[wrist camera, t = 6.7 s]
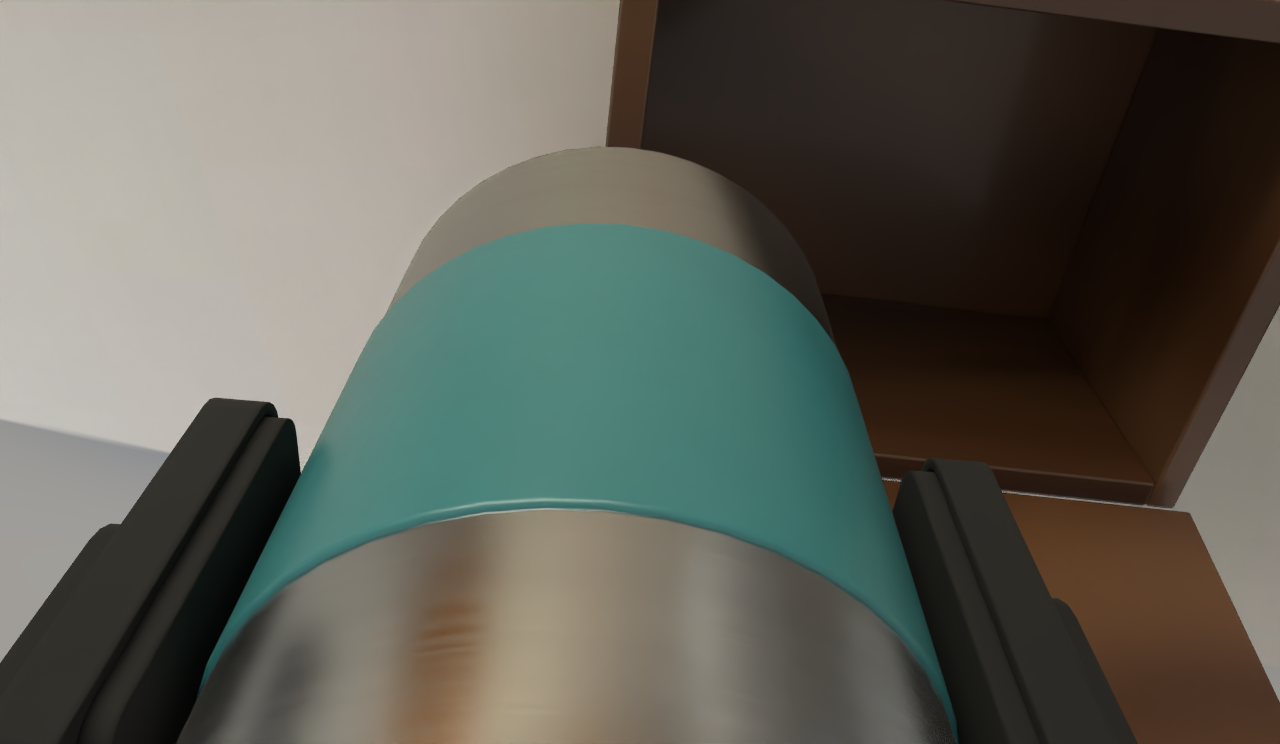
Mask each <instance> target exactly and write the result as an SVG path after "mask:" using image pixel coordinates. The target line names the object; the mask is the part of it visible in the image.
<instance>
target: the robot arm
mask: <svg viewBox="0 0 1280 744" xmlns="http://www.w3.org/2000/svg"><path fill="white" fill-rule="evenodd" d="M300 475H301V472H300V463H299V454H298V445H297V436H296V429H295V425H294V423H293V420H291V419H288V418H278V414H277V411H276V409H275V406H274V405H273V404H271V403H270V402H259V401H247V400H235V399H223V398H213V399H210V400H209V401H208V402H207V403H206V404H205V405H204V406H203V407H202V409H201V410H200V412H199V413H198V415H197V416H196V417H195V419H194V420H193V422H192V423H191V425H190V426H189V427H188V429H187V430H186V432H185V433H184V435H183V436H182V437H181V439H180V440H179V442H178V443H177V445H176V446H175V448H174V449H173V450H172V452H171V453H170V455H169V456H168V458H167V459H166V460H165V462H164V463H163V465H162V466H161V468H160V469H159V470H158V472H157V473H156V475H155V476H154V478H153V479H152V480H151V482H150V483H149V485H148V486H147V488H146V489H145V491H144V492H143V493H142V495H141V496H140V498H139V499H138V500H137V502H136V503H135V505H134V506H133V508H132V509H131V511H130V512H129V514H128V515H127V516H126V518H125V519H124V521H123V522H122V524H109V525H107V526H105V527H103V528H101V529H99V531H98V532H97V533H96V534H95V535H94V536H93V537H92V538H91V539H90V540H89V541H88V543H87V544H86V546H85V547H84V548H83V550H82V551H81V553H80V554H79V555H78V557H77V558H76V559H75V561H74V562H73V563H72V565H71V566H70V568H69V569H68V570H67V572H66V573H65V574H64V576H63V577H62V579H61V580H60V581H59V583H58V584H57V586H56V587H55V588H54V590H53V591H52V592H51V594H50V595H49V596H48V598H47V599H46V601H45V602H44V603H43V605H42V606H41V608H40V609H39V610H38V612H37V613H36V615H35V616H34V617H33V619H32V620H31V621H30V623H29V624H28V626H27V627H26V628H25V630H24V631H23V632H22V634H21V635H20V637H19V638H18V639H17V641H16V642H15V643H14V645H13V646H12V648H11V649H10V650H9V652H8V653H7V655H6V656H5V657H4V659H3V660H2V662H1V663H0V744H176V742H177V740H178V738H179V736H180V734H181V732H182V730H183V728H184V726H185V724H186V722H187V720H188V718H189V716H190V714H191V712H192V709H193V707H194V705H195V703H196V699H197V694H198V691H199V687H200V684H201V681H202V678H203V675H204V671H205V668H206V665H207V662H208V660H209V658H210V656H211V654H212V652H213V650H214V648H215V646H216V644H217V642H218V640H219V638H220V636H221V634H222V632H223V630H224V628H225V626H226V624H227V622H228V620H229V618H230V616H231V614H232V612H233V610H234V608H235V606H236V604H237V602H238V600H239V598H240V596H241V594H242V592H243V590H244V588H245V586H246V584H247V582H248V580H249V578H250V576H251V574H252V572H253V570H254V568H255V566H256V564H257V562H258V560H259V558H260V556H261V554H262V552H263V550H264V548H265V546H266V544H267V542H268V540H269V537H270V535H271V533H272V531H273V529H274V527H275V525H276V523H277V521H278V519H279V517H280V515H281V513H282V511H283V509H284V507H285V505H286V503H287V501H288V499H289V497H290V495H291V493H292V491H293V489H294V487H295V485H296V483H297V481H298V479H299V477H300ZM892 513H893V516H894V519H895V523H896V526H897V529H898V532H899V536H900V539H901V542H902V545H903V549H904V552H905V555H906V558H907V562H908V565H909V568H910V571H911V574H912V578H913V581H914V584H915V587H916V591H917V594H918V597H919V600H920V604H921V607H922V610H923V613H924V617H925V620H926V623H927V626H928V629H929V633H930V636H931V639H932V642H933V646H934V649H935V652H936V655H937V659H938V662H939V665H940V668H941V672H942V675H943V678H944V681H945V685H946V688H947V691H948V694H949V697H950V701H951V704H952V707H953V710H954V714H955V717H956V720H957V730H958V739H959V744H1138V743H1137V740H1136V738H1135V736H1134V734H1133V732H1132V730H1131V728H1130V726H1129V724H1128V722H1127V720H1126V718H1125V716H1124V714H1123V712H1122V710H1121V708H1120V706H1119V704H1118V701H1117V699H1116V697H1115V695H1114V693H1113V691H1112V689H1111V687H1110V685H1109V683H1108V681H1107V679H1106V677H1105V675H1104V673H1103V671H1102V669H1101V667H1100V665H1099V662H1098V660H1097V658H1096V656H1095V654H1094V652H1093V650H1092V648H1091V646H1090V644H1089V642H1088V640H1087V638H1086V636H1085V634H1084V632H1083V630H1082V628H1081V626H1080V623H1079V621H1078V619H1077V617H1076V616H1075V614H1074V613H1073V611H1072V610H1071V608H1070V607H1069V605H1068V604H1066V603H1065V602H1063V601H1062V600H1060V599H1059V598H1051V596H1050V593H1049V591H1048V589H1047V587H1046V585H1045V583H1044V581H1043V578H1042V576H1041V574H1040V572H1039V570H1038V568H1037V566H1036V564H1035V561H1034V559H1033V557H1032V555H1031V553H1030V551H1029V549H1028V546H1027V544H1026V542H1025V540H1024V538H1023V536H1022V534H1021V532H1020V529H1019V527H1018V525H1017V523H1016V521H1015V519H1014V517H1013V514H1012V512H1011V510H1010V508H1009V506H1008V504H1007V502H1006V500H1005V497H1004V495H1003V493H1002V491H1001V489H1000V487H999V485H998V482H997V480H996V478H995V476H994V474H993V472H992V470H991V469H990V467H989V466H988V464H986V463H983V462H975V461H963V460H951V459H939V458H929V459H927V460H926V461H925V463H924V464H923V465H922V468H921V470H920V471H912V470H909V471H907V472H906V473H905V474H904V476H903V478H902V481H901V484H900V487H899V491H898V494H897V498H896V501H895V504H894V508H893V511H892Z"/></svg>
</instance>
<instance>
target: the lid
mask: <svg viewBox="0 0 1280 744" xmlns="http://www.w3.org/2000/svg"><path fill="white" fill-rule="evenodd" d="M882 481H883V484H884V487H885V490H886V494H887V497H888V500H889V503H890V507H891V510H892V511H893V508H894V504H895V501H896V498H897V494H898V491H899V487H900V484H901V482H896V481H887V480H882ZM1003 495H1004V497H1005V500H1006V502H1007V504H1008V506H1009V508H1010V510H1011V512H1012V514H1013V517H1014V519H1015V521H1016V523H1017V525H1018V527H1019V529H1020V532H1021V534H1022V536H1023V538H1024V540H1025V542H1026V544H1027V546H1028V549H1029V551H1030V553H1031V555H1032V557H1033V559H1034V561H1035V564H1036V566H1037V568H1038V570H1039V572H1040V574H1041V576H1042V578H1043V581H1044V583H1045V585H1046V587H1047V589H1048V591H1049V593H1050V596H1051V598H1059V599H1060V600H1062V601H1063V602H1065V603H1066V604H1068V605H1069V607H1070V608H1071V610H1072V611H1073V613H1074V614H1075V616H1076V617H1077V619H1078V621H1079V623H1080V626H1081V628H1082V630H1083V632H1084V634H1085V636H1086V638H1087V640H1088V642H1089V644H1090V646H1091V648H1092V650H1093V652H1094V654H1095V656H1096V658H1097V660H1098V662H1099V665H1100V667H1101V669H1102V671H1103V673H1104V675H1105V677H1106V679H1107V681H1108V683H1109V685H1110V687H1111V689H1112V691H1113V693H1114V695H1115V697H1116V699H1117V701H1118V704H1119V706H1120V708H1121V710H1122V712H1123V714H1124V716H1125V718H1126V720H1127V722H1128V724H1129V726H1130V728H1131V730H1132V732H1133V734H1134V736H1135V738H1136V740H1137V743H1138V744H1280V702H1279V700H1278V698H1277V696H1276V694H1275V692H1274V689H1273V687H1272V685H1271V683H1270V681H1269V679H1268V677H1267V675H1266V673H1265V671H1264V668H1263V666H1262V664H1261V662H1260V660H1259V658H1258V656H1257V654H1256V651H1255V649H1254V647H1253V645H1252V643H1251V641H1250V639H1249V637H1248V635H1247V633H1246V630H1245V628H1244V626H1243V624H1242V622H1241V620H1240V618H1239V616H1238V614H1237V611H1236V609H1235V607H1234V605H1233V603H1232V601H1231V599H1230V597H1229V595H1228V593H1227V590H1226V588H1225V586H1224V584H1223V582H1222V580H1221V578H1220V576H1219V574H1218V571H1217V569H1216V567H1215V565H1214V563H1213V561H1212V559H1211V557H1210V555H1209V553H1208V550H1207V548H1206V546H1205V544H1204V542H1203V540H1202V538H1201V536H1200V534H1199V532H1198V529H1197V527H1196V525H1195V523H1194V521H1193V519H1192V517H1191V515H1190V513H1188V512H1178V511H1169V510H1160V509H1150V508H1141V507H1131V506H1122V505H1113V504H1103V503H1094V502H1084V501H1075V500H1066V499H1056V498H1047V497H1037V496H1028V495H1019V494H1009V493H1003Z"/></svg>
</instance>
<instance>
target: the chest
mask: <svg viewBox="0 0 1280 744" xmlns="http://www.w3.org/2000/svg"><path fill="white" fill-rule="evenodd" d="M605 147H623V148H635V149H641V150H648V151H654V152H660V153H664V154H668V155H671V156H674V157H678V158H681V159H685V160H688V161H691V162H694V163H696V164H698V165H700V166H703V167H705V168H707V169H710V170H712V171H714V172H716V173H719V174H720V175H722V176H724V177H725V178H727V179H729V180H730V181H732V182H734V183H735V184H737V185H739V186H740V187H742V188H744V189H745V190H746V191H748V192H749V193H750V194H751V195H753V196H754V197H755V198H756V199H757V200H759V201H760V202H761V203H762V204H764V205H765V206H766V207H767V208H768V209H769V210H770V211H771V212H772V213H773V214H774V215H775V216H776V217H777V218H778V219H779V220H780V221H781V223H782V224H783V225H784V226H785V227H786V228H787V229H788V231H789V232H790V233H791V235H792V236H793V238H794V239H795V241H796V242H797V243H798V245H799V246H800V248H801V249H802V251H803V253H804V255H805V257H806V259H807V261H808V263H809V265H810V267H811V269H812V271H813V273H814V275H815V278H816V281H817V284H818V287H819V290H820V293H821V296H822V300H823V303H824V306H825V310H826V313H827V316H828V320H829V323H830V326H831V329H832V333H833V336H834V339H835V343H836V346H837V349H838V352H839V354H840V356H841V358H842V360H843V362H844V364H845V366H846V368H847V370H848V372H849V375H850V378H851V381H852V384H853V387H854V390H855V393H856V397H857V400H858V403H859V406H860V409H861V413H862V416H863V419H864V422H865V426H866V429H867V432H868V435H869V439H870V442H871V445H872V448H873V451H874V455H875V458H876V461H877V464H878V468H879V471H880V474H881V477H882V478H889V479H898V480H902V478H903V476H904V474H905V473H906V472H907V471H909V470H912V471H920V470H921V468H922V465H923V464H924V463H925V461H926V460H927V459H929V458H939V459H951V460H963V461H975V462H983V463H986V464H988V466H989V467H990V469H991V470H992V472H993V474H994V476H995V478H996V480H997V482H998V485H999V487H1000V489H1001V491H1011V492H1020V493H1030V494H1039V495H1048V496H1058V497H1067V498H1076V499H1086V500H1095V501H1105V502H1114V503H1123V504H1133V505H1145V504H1146V505H1148V506H1153V507H1163V508H1173V507H1174V505H1175V503H1176V501H1177V500H1178V498H1179V496H1180V494H1181V492H1182V490H1183V488H1184V486H1185V484H1186V482H1187V481H1188V479H1189V477H1190V475H1191V473H1192V471H1193V469H1194V467H1195V465H1196V463H1197V461H1198V460H1199V458H1200V456H1201V454H1202V452H1203V450H1204V448H1205V446H1206V444H1207V442H1208V441H1209V439H1210V437H1211V435H1212V433H1213V431H1214V429H1215V427H1216V425H1217V423H1218V421H1219V420H1220V418H1221V416H1222V414H1223V412H1224V410H1225V408H1226V406H1227V404H1228V402H1229V401H1230V399H1231V397H1232V395H1233V393H1234V391H1235V389H1236V387H1237V385H1238V383H1239V382H1240V380H1241V378H1242V376H1243V374H1244V372H1245V370H1246V368H1247V366H1248V364H1249V362H1250V361H1251V359H1252V357H1253V355H1254V353H1255V351H1256V349H1257V347H1258V345H1259V343H1260V342H1261V340H1262V338H1263V336H1264V334H1265V332H1266V330H1267V328H1268V326H1269V324H1270V322H1271V321H1272V319H1273V317H1274V315H1275V313H1276V311H1277V309H1278V307H1279V305H1280V0H620V7H619V17H618V27H617V37H616V47H615V57H614V67H613V77H612V87H611V97H610V107H609V117H608V127H607V137H606V146H605Z"/></svg>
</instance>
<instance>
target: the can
mask: <svg viewBox="0 0 1280 744" xmlns="http://www.w3.org/2000/svg"><path fill="white" fill-rule="evenodd" d="M176 744H959V739H958V730H957V720H956V717H955V714H954V710H953V707H952V704H951V701H950V697H949V694H948V691H947V688H946V685H945V681H944V678H943V675H942V672H941V668H940V665H939V662H938V659H937V655H936V652H935V649H934V646H933V642H932V639H931V636H930V633H929V629H928V626H927V623H926V620H925V617H924V613H923V610H922V607H921V604H920V600H919V597H918V594H917V591H916V587H915V584H914V581H913V578H912V574H911V571H910V568H909V565H908V562H907V558H906V555H905V552H904V549H903V545H902V542H901V539H900V536H899V532H898V529H897V526H896V523H895V519H894V516H893V513H892V510H891V507H890V503H889V500H888V497H887V494H886V490H885V487H884V484H883V481H882V477H881V474H880V471H879V468H878V464H877V461H876V458H875V455H874V451H873V448H872V445H871V442H870V439H869V435H868V432H867V429H866V426H865V422H864V419H863V416H862V413H861V409H860V406H859V403H858V400H857V397H856V393H855V390H854V387H853V384H852V381H851V378H850V375H849V372H848V370H847V368H846V366H845V364H844V362H843V360H842V358H841V356H840V354H839V352H838V349H837V346H836V343H835V339H834V336H833V333H832V329H831V326H830V323H829V320H828V316H827V313H826V310H825V306H824V303H823V300H822V296H821V293H820V290H819V287H818V284H817V281H816V278H815V275H814V273H813V271H812V269H811V267H810V265H809V263H808V261H807V259H806V257H805V255H804V253H803V251H802V249H801V248H800V246H799V245H798V243H797V242H796V241H795V239H794V238H793V236H792V235H791V233H790V232H789V231H788V229H787V228H786V227H785V226H784V225H783V224H782V223H781V221H780V220H779V219H778V218H777V217H776V216H775V215H774V214H773V213H772V212H771V211H770V210H769V209H768V208H767V207H766V206H765V205H764V204H762V203H761V202H760V201H759V200H757V199H756V198H755V197H754V196H753V195H751V194H750V193H749V192H748V191H746V190H745V189H744V188H742V187H740V186H739V185H737V184H735V183H734V182H732V181H730V180H729V179H727V178H725V177H724V176H722V175H720V174H719V173H716V172H714V171H712V170H710V169H707V168H705V167H703V166H700V165H698V164H696V163H694V162H691V161H688V160H685V159H681V158H678V157H674V156H671V155H668V154H664V153H660V152H654V151H648V150H641V149H635V148H623V147H590V148H580V149H570V150H564V151H560V152H555V153H551V154H546V155H542V156H538V157H535V158H532V159H529V160H527V161H524V162H521V163H519V164H516V165H513V166H511V167H508V168H506V169H504V170H503V171H501V172H499V173H497V174H495V175H493V176H491V177H489V178H488V179H486V180H484V181H482V182H481V183H479V184H478V185H477V186H475V187H474V188H473V189H471V190H470V191H468V192H467V193H466V194H464V195H463V196H462V197H460V198H459V199H458V200H457V201H456V202H455V203H454V204H453V205H452V206H451V207H450V208H449V209H448V210H447V211H446V212H445V213H444V214H443V215H442V216H441V217H440V218H439V219H438V220H437V222H436V223H435V224H434V226H433V227H432V228H431V229H430V231H429V232H428V233H427V235H426V236H425V237H424V239H423V240H422V242H421V244H420V246H419V248H418V250H417V252H416V253H415V255H414V257H413V259H412V261H411V263H410V265H409V267H408V269H407V271H406V273H405V275H404V277H403V279H402V281H401V283H400V285H399V287H398V289H397V291H396V293H395V295H394V297H393V300H392V302H391V304H390V306H389V308H388V310H387V312H386V314H385V316H384V317H383V319H382V320H381V321H380V323H379V324H378V325H377V327H376V328H375V329H374V331H373V332H372V334H371V336H370V338H369V340H368V342H367V343H366V345H365V347H364V349H363V351H362V353H361V354H360V356H359V358H358V360H357V362H356V364H355V366H354V368H353V370H352V372H351V374H350V376H349V378H348V380H347V382H346V384H345V386H344V389H343V391H342V393H341V395H340V397H339V399H338V401H337V403H336V405H335V407H334V409H333V411H332V413H331V415H330V417H329V419H328V421H327V423H326V425H325V427H324V429H323V431H322V433H321V435H320V437H319V439H318V441H317V443H316V445H315V447H314V449H313V451H312V453H311V455H310V457H309V459H308V461H307V463H306V465H305V467H304V469H303V471H302V473H301V475H300V477H299V479H298V481H297V483H296V485H295V487H294V489H293V491H292V493H291V495H290V497H289V499H288V501H287V503H286V505H285V507H284V509H283V511H282V513H281V515H280V517H279V519H278V521H277V523H276V525H275V527H274V529H273V531H272V533H271V535H270V537H269V540H268V542H267V544H266V546H265V548H264V550H263V552H262V554H261V556H260V558H259V560H258V562H257V564H256V566H255V568H254V570H253V572H252V574H251V576H250V578H249V580H248V582H247V584H246V586H245V588H244V590H243V592H242V594H241V596H240V598H239V600H238V602H237V604H236V606H235V608H234V610H233V612H232V614H231V616H230V618H229V620H228V622H227V624H226V626H225V628H224V630H223V632H222V634H221V636H220V638H219V640H218V642H217V644H216V646H215V648H214V650H213V652H212V654H211V656H210V658H209V660H208V662H207V665H206V668H205V671H204V675H203V678H202V681H201V684H200V687H199V691H198V694H197V699H196V703H195V705H194V707H193V709H192V712H191V714H190V716H189V718H188V720H187V722H186V724H185V726H184V728H183V730H182V732H181V734H180V736H179V738H178V740H177V742H176Z"/></svg>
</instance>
